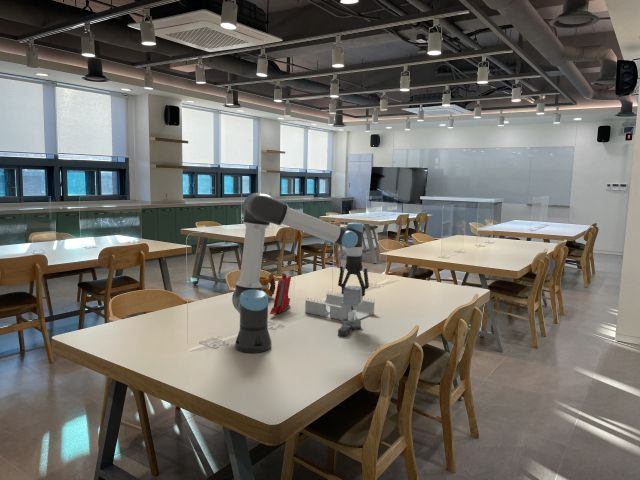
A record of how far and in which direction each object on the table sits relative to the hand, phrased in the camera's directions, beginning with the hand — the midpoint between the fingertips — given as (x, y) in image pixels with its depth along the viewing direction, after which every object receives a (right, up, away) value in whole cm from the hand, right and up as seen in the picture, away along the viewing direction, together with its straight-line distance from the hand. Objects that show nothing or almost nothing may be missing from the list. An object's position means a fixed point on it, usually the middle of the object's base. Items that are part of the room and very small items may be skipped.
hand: (353, 301), depth 230 cm
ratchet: (-3, -13, -4) cm, 14 cm away
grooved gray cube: (0, -1, 0) cm, 1 cm away
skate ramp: (-7, -10, +24) cm, 27 cm away
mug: (-50, -6, +53) cm, 72 cm away
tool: (-38, -12, +24) cm, 47 cm away
